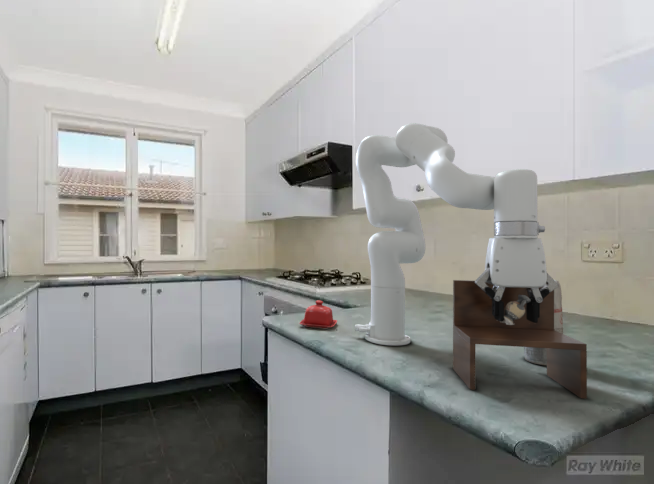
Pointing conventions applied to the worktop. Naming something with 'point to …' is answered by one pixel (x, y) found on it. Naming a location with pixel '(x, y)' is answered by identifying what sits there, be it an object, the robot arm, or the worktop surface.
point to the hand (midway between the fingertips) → (515, 319)
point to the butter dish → (318, 316)
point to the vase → (515, 309)
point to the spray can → (541, 353)
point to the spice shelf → (513, 335)
